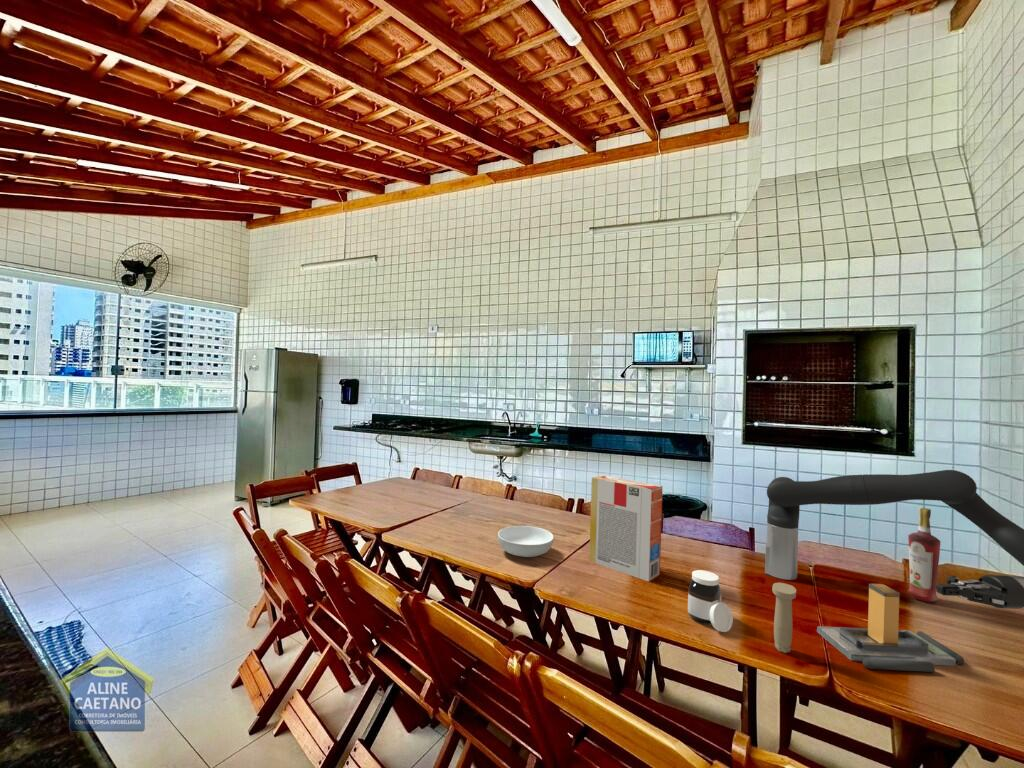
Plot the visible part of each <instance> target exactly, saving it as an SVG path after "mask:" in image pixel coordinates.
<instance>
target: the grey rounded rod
mask: <svg viewBox="0 0 1024 768" xmlns="http://www.w3.org/2000/svg"><path fill="white" fill-rule="evenodd" d="M862 665H863V666H864V667H865V668H867V669H869V670H885V671H886V670H887V671H905V672H923V673H924V672H925V673H926V672H927V673H934V672H935V671H936V667H935V665H933V664H932V663H931V662H926V661H906V660H885V659H864V660H863V661H862Z"/></svg>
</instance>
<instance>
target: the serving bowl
mask: <svg viewBox="0 0 1024 768" xmlns="http://www.w3.org/2000/svg"><path fill="white" fill-rule="evenodd" d="M497 539H498V544H500V547H501V548H502V549H503V550H504V551H505V552H506V553H508V554H510V555H513V556H517V557H522V558H533V557H539V556H542V555H544V554H546V553H548V551H549V550H550V549H551V548H552V546H553V543H554V539H555V537H554V535H553V533H552V532H550V530H547V529H545V528H541V527H538V526H531V525H513V526H511V525H510V526H507V527H503V528H502V529H500V530H499V531H498V532H497Z"/></svg>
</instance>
